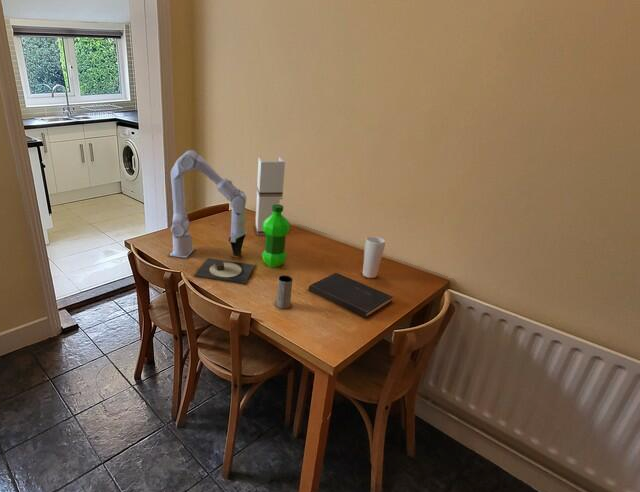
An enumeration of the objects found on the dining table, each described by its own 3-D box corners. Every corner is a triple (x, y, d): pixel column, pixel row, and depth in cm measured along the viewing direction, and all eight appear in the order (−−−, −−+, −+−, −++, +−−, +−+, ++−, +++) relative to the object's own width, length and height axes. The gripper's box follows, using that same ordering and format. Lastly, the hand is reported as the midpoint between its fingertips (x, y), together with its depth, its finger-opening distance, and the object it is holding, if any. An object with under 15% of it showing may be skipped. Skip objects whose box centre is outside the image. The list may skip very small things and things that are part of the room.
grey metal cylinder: (275, 301, 142) (277, 275, 137) (288, 301, 142) (290, 275, 137) (278, 309, 137) (280, 282, 133) (291, 308, 138) (294, 281, 133)
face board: (208, 259, 173) (208, 257, 172) (254, 266, 167) (254, 264, 166) (194, 276, 159) (194, 274, 159) (244, 284, 153) (245, 282, 153)
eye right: (234, 252, 176) (234, 248, 175) (242, 253, 175) (242, 249, 174) (231, 255, 173) (232, 251, 172) (240, 257, 172) (240, 252, 171)
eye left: (216, 266, 165) (216, 261, 164) (225, 267, 164) (225, 262, 163) (213, 269, 162) (213, 265, 161) (222, 271, 161) (222, 266, 160)
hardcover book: (335, 277, 157) (335, 272, 156) (391, 302, 141) (392, 296, 140) (308, 291, 148) (308, 285, 147) (365, 318, 132) (366, 312, 131)
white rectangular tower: (279, 235, 196) (284, 162, 182) (257, 235, 197) (260, 162, 182) (276, 226, 207) (281, 156, 192) (255, 226, 207) (258, 156, 192)
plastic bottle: (288, 261, 170) (293, 203, 160) (282, 272, 162) (286, 211, 151) (265, 257, 174) (269, 200, 164) (257, 267, 166) (260, 208, 155)
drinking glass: (378, 272, 161) (385, 237, 154) (378, 280, 155) (385, 244, 148) (360, 270, 163) (366, 235, 156) (360, 278, 157) (366, 242, 150)
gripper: (243, 228, 160) (242, 260, 166) (251, 217, 173) (250, 246, 178) (225, 226, 162) (225, 257, 168) (235, 215, 175) (234, 244, 180)
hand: (237, 251), depth 173 cm, fingers closed on eye right, 3 cm apart
